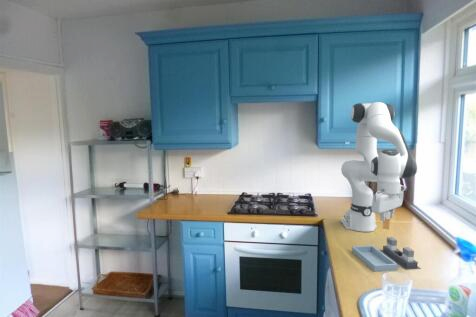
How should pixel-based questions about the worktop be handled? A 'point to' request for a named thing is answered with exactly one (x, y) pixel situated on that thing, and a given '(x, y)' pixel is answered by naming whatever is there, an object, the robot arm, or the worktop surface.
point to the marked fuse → (386, 223)
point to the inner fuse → (391, 243)
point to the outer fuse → (408, 254)
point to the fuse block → (399, 258)
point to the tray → (374, 258)
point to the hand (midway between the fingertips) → (386, 219)
